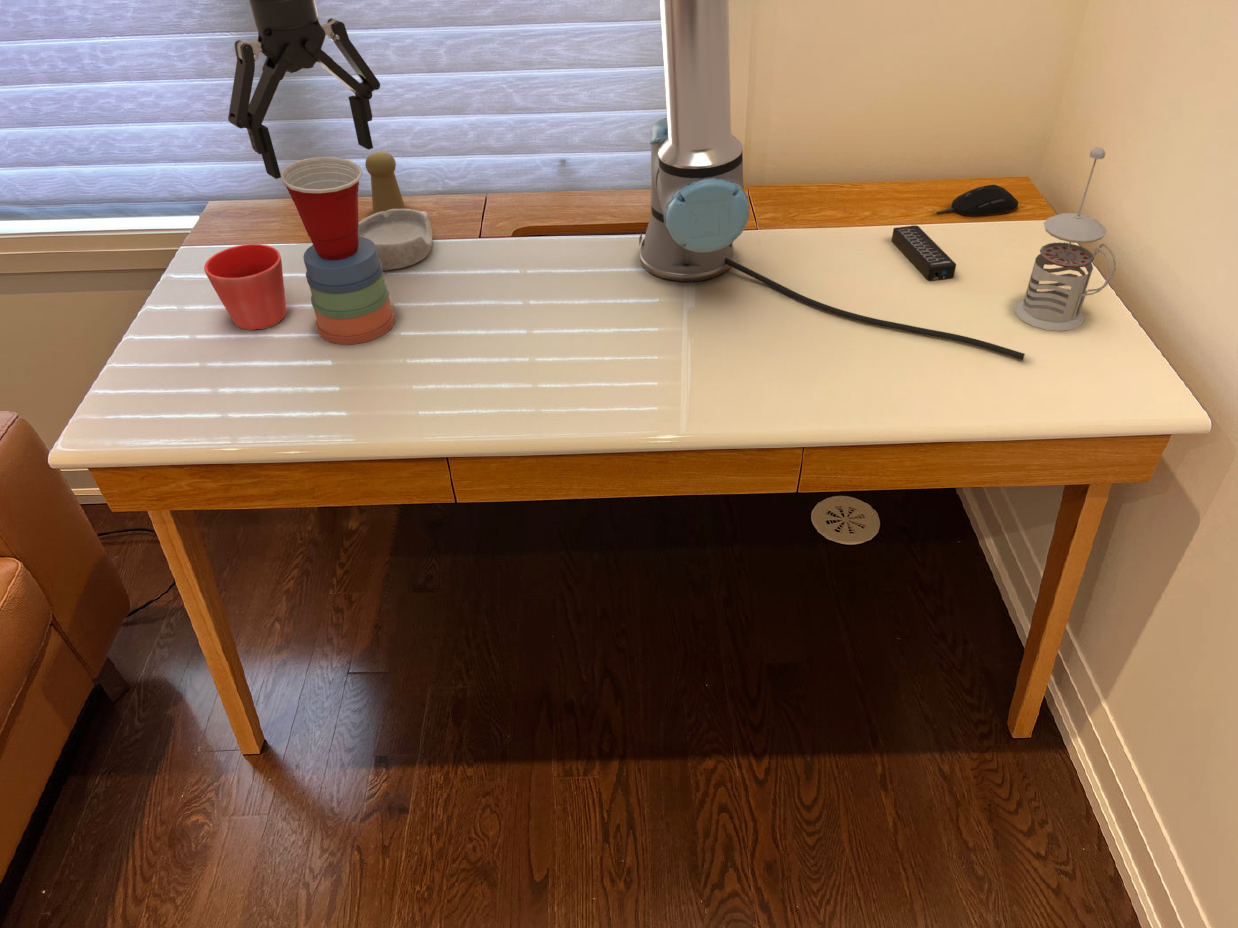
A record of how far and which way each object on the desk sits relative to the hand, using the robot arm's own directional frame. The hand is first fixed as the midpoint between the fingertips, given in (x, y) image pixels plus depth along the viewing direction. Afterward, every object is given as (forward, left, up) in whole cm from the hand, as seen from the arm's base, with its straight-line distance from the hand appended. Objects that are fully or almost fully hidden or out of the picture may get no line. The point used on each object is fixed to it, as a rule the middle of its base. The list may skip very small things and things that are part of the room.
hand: (321, 161), depth 127 cm
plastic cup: (0, 0, -13) cm, 13 cm away
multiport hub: (-46, -77, -25) cm, 94 cm away
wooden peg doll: (+30, -23, -25) cm, 46 cm away
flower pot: (+12, +10, -25) cm, 30 cm away
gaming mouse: (-42, -100, -25) cm, 111 cm away
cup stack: (0, 0, -25) cm, 25 cm away
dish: (+16, -16, -25) cm, 34 cm away
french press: (-70, -77, -25) cm, 107 cm away
